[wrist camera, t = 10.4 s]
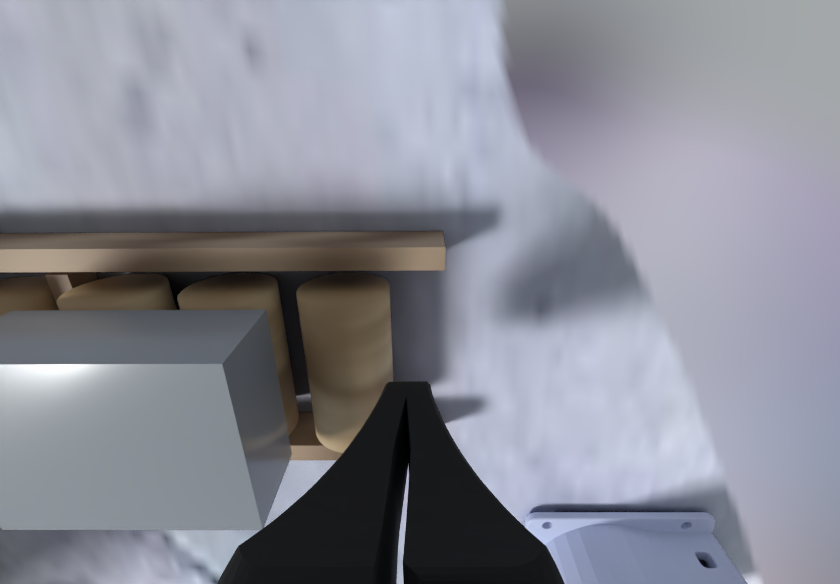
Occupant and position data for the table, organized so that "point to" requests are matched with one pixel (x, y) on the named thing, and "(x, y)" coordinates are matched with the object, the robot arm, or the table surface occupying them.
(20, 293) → the roller
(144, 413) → the slab
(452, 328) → the table surface
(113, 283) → the roller track
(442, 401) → the table surface
